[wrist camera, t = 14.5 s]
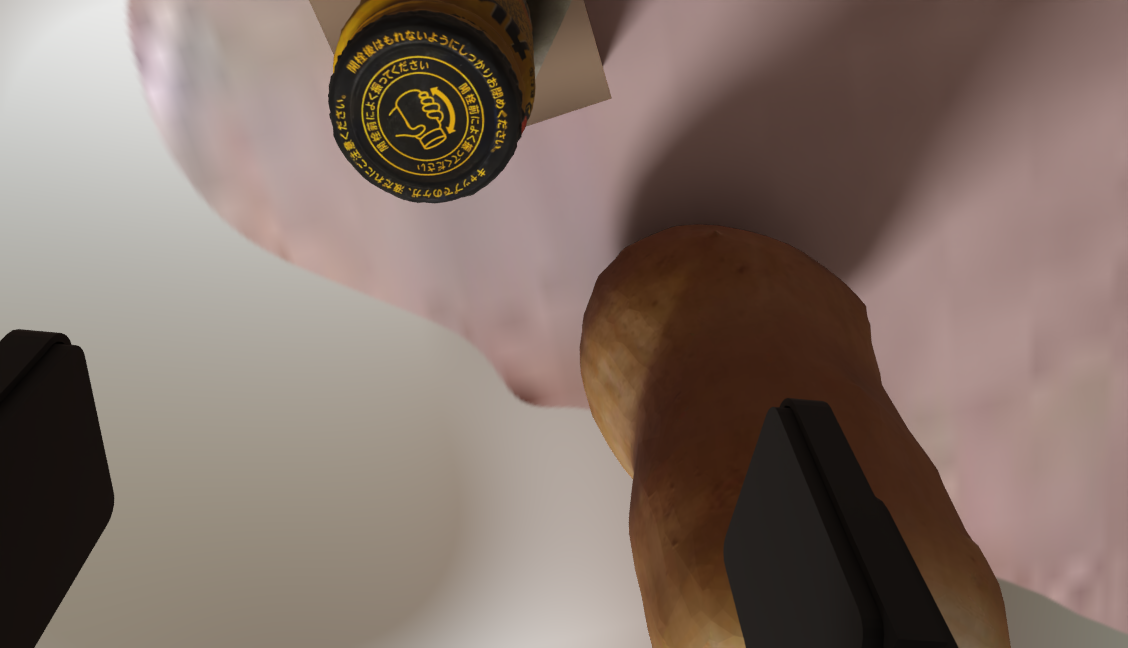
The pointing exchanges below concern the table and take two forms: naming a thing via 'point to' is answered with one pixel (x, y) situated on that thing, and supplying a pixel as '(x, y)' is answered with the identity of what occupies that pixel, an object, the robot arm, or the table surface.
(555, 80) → the beige square block
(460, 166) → the condiment
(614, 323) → the butternut squash
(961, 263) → the table surface
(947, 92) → the table surface
